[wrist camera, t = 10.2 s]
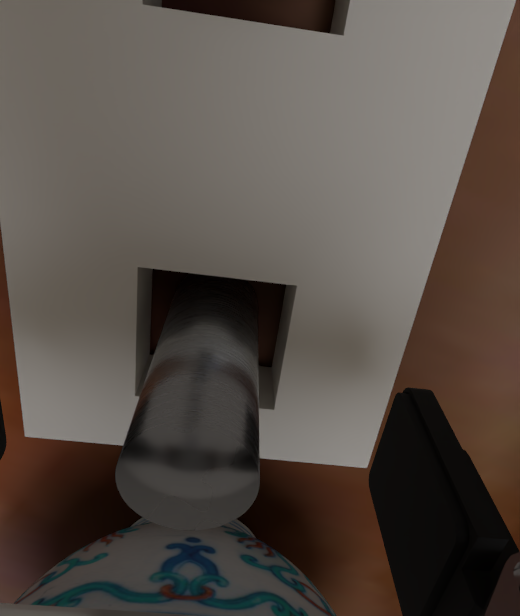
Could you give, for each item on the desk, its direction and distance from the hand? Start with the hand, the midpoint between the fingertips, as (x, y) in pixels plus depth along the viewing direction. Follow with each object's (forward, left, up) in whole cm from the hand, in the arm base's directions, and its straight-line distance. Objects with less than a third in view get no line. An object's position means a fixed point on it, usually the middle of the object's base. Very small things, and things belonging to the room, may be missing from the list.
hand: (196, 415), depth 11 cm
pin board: (-5, 0, -6) cm, 8 cm away
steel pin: (0, 0, -6) cm, 6 cm away
